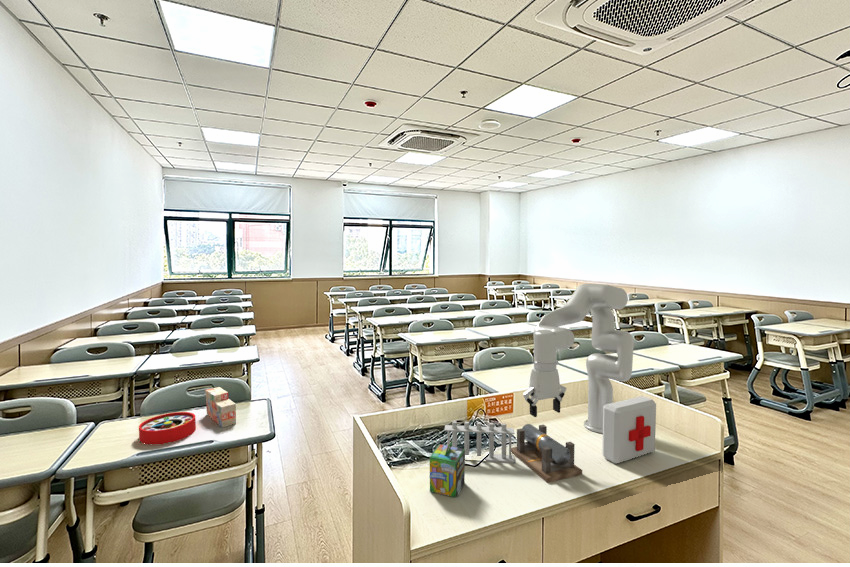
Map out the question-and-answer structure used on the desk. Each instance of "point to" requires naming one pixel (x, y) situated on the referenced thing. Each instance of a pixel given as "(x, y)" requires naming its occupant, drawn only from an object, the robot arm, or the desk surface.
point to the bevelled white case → (628, 429)
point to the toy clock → (167, 428)
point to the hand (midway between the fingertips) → (545, 413)
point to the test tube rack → (490, 430)
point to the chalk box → (447, 470)
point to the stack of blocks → (220, 407)
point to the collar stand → (544, 459)
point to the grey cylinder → (546, 444)
